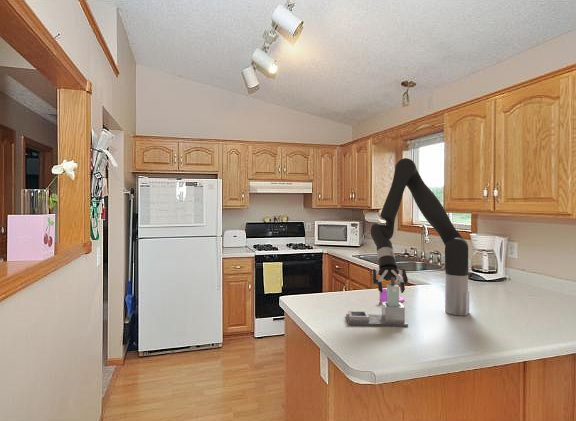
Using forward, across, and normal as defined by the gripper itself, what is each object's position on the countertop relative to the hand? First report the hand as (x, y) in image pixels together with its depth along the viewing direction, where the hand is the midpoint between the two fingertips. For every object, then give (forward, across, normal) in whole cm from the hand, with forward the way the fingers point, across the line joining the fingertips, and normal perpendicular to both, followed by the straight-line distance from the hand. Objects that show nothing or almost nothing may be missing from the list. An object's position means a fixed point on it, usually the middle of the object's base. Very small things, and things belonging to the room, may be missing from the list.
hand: (392, 291), depth 149 cm
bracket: (-12, +7, +30) cm, 33 cm away
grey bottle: (+6, 0, +4) cm, 7 cm away
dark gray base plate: (+9, -7, +8) cm, 14 cm away
